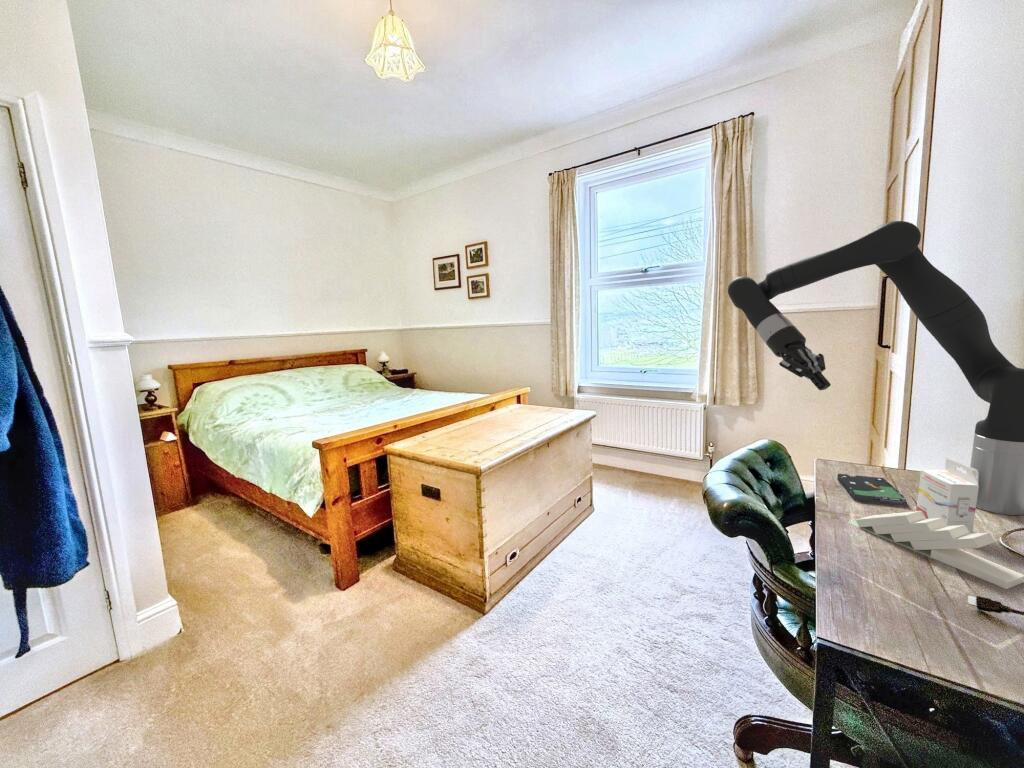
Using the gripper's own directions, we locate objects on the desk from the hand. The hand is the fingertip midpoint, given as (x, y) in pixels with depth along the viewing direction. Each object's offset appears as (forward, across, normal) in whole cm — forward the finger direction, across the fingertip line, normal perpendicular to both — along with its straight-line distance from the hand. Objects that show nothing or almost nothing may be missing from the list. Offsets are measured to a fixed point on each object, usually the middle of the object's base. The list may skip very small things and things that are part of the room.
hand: (825, 387), depth 95 cm
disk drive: (+22, +19, +22) cm, 36 cm away
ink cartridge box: (+33, +14, +9) cm, 37 cm away
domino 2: (+30, 0, +11) cm, 32 cm away
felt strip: (+32, 0, +10) cm, 34 cm away
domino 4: (+35, 0, +6) cm, 35 cm away
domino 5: (+36, 0, +4) cm, 37 cm away
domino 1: (+28, 0, +13) cm, 31 cm away
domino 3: (+32, 0, +8) cm, 33 cm away
